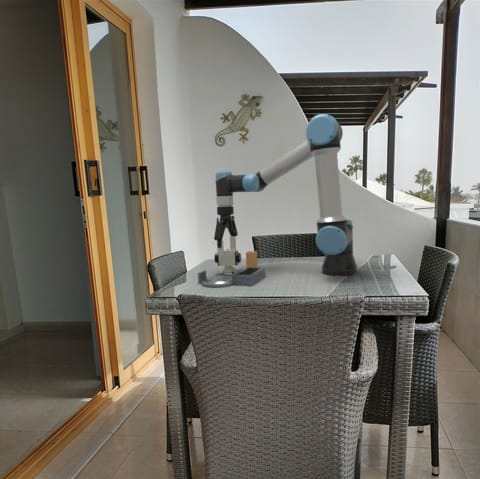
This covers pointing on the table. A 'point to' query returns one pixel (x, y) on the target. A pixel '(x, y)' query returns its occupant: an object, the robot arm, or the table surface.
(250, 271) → the grey rectangular frame
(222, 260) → the pneumatic valve
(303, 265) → the table surface
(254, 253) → the tan rectangular block
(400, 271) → the table surface
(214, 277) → the grey disc
